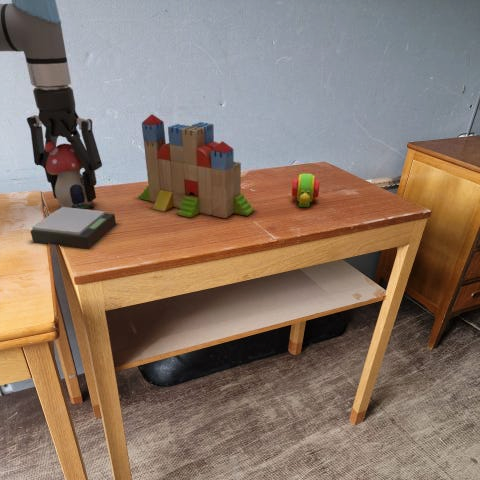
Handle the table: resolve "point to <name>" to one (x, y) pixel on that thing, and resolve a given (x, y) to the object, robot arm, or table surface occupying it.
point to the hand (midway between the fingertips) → (75, 198)
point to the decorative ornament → (67, 176)
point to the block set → (191, 171)
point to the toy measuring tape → (305, 189)
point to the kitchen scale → (73, 227)
